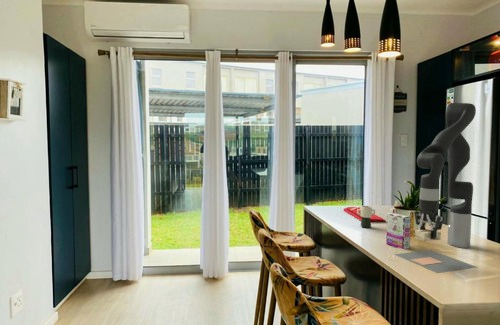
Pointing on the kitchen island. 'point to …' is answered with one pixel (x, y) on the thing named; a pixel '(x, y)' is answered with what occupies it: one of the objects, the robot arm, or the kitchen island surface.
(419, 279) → the kitchen island surface
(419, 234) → the maple deck block
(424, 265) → the rubber mat
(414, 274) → the kitchen island surface
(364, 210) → the character mug
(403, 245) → the candy bar box
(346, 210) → the dish drying mat
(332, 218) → the kitchen island surface
